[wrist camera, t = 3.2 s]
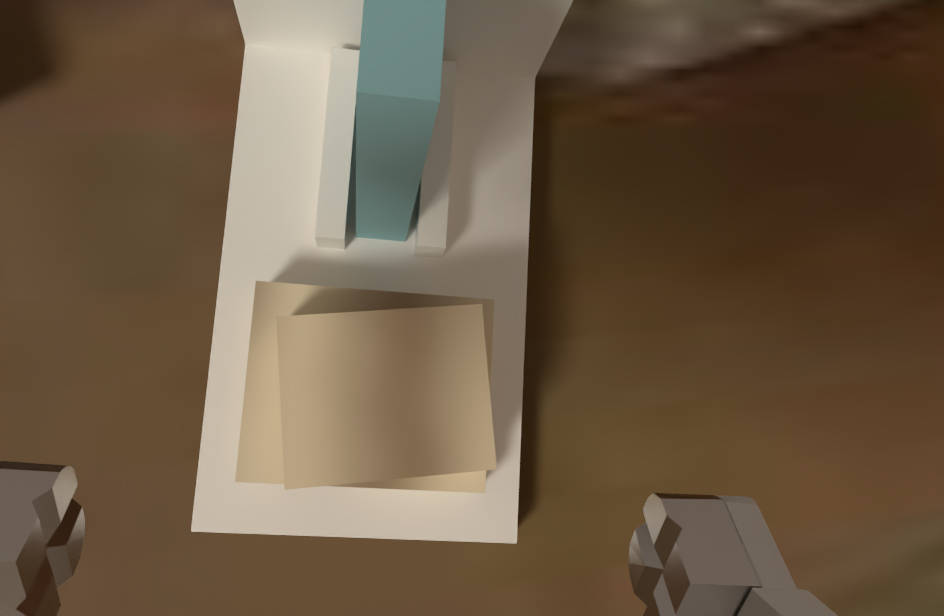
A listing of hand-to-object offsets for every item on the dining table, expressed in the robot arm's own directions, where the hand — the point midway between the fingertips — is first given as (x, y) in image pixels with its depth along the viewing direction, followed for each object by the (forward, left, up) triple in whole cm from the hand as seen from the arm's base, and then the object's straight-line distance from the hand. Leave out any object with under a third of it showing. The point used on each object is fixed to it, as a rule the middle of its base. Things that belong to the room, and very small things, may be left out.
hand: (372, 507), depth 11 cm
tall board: (0, +11, -16) cm, 20 cm away
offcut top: (0, +2, -14) cm, 15 cm away
